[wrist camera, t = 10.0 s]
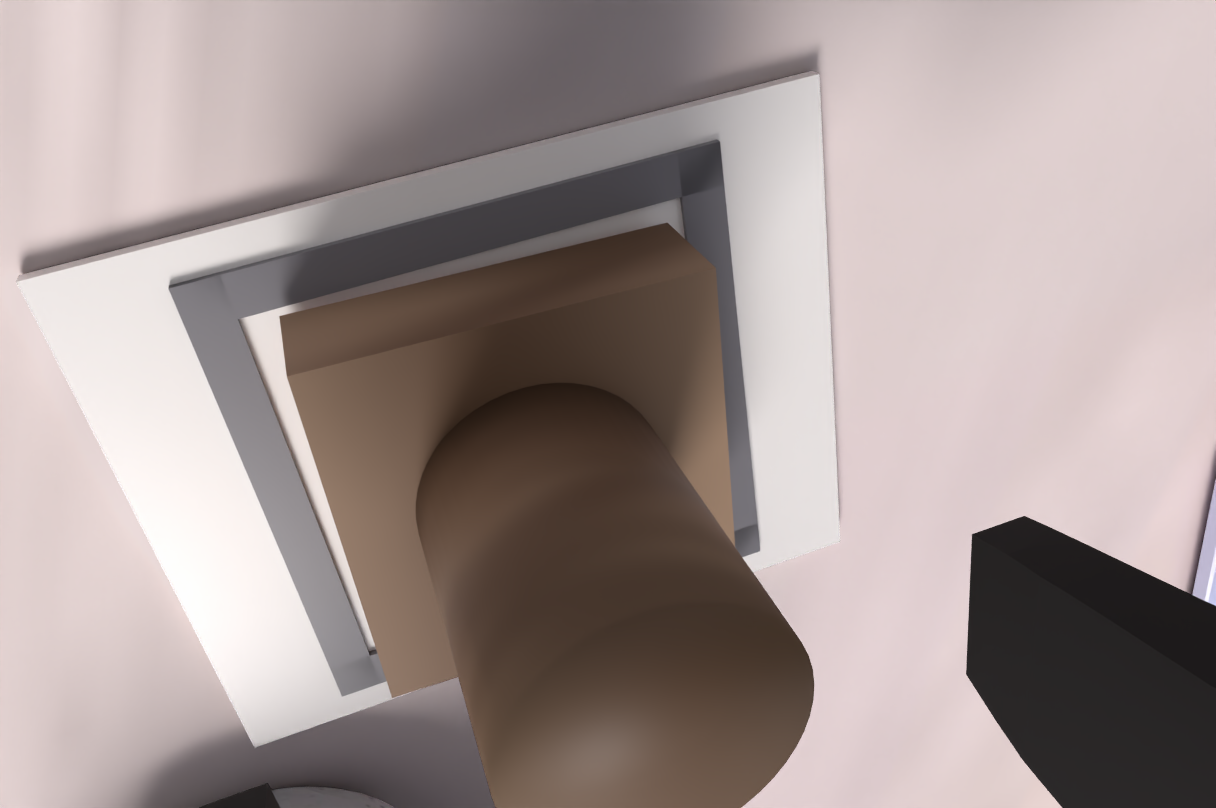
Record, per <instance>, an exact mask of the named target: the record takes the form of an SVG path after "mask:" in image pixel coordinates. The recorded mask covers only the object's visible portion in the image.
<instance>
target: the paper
mask: <svg viewBox="0 0 1216 808" xmlns="http://www.w3.org/2000/svg"><path fill="white" fill-rule="evenodd" d="M663 223H668V224H669V225H671V226H672V227H673V228H674V229H675V230H676V231H677V232H678V233H679V234H680V235H681V236H682V237H683V238H684V239H685V240H687V241H688V242H689V243H690V244H691V245H692V246H693V247H694V248H695V249H696V250H697V251H698V252H699V253H700V254H702V255H703V256H704V257H705V258H706V259H707V260H708V261H709V262H710V263H711V264H712V265H713V266H714V267H715V268H716V277H717V292H718V306H719V321H720V335H721V349H722V364H723V378H724V393H725V407H726V422H727V436H728V451H729V465H730V480H731V494H732V509H733V523H734V538H735V548H736V549H737V550H738V552H739V553H740V555H741V556H742V558H743V559H744V561H745V562H746V563H747V565H748V566H749V568H750V569H751V571H752V572H756V571H758V570H761V569H764V568H767V567H770V566H773V565H776V564H778V563H781V562H784V561H787V560H790V559H793V558H795V557H798V556H801V555H804V554H807V553H810V552H812V551H815V550H818V549H821V548H824V547H827V546H830V545H832V544H835V543H838V542H840V527H839V504H838V482H837V459H836V436H835V414H834V391H833V368H832V346H831V323H830V301H829V278H828V255H827V233H826V210H825V188H824V165H823V142H822V120H821V97H820V74H819V73H817V72H814V71H809V72H805V73H801V74H797V75H793V76H789V77H785V78H781V79H778V80H774V81H770V82H766V83H762V84H758V85H754V86H750V87H747V88H743V89H739V90H735V91H731V92H727V93H723V94H719V95H716V96H712V97H708V98H704V99H700V100H696V101H692V102H688V103H685V104H681V105H677V106H673V107H669V108H665V109H661V110H657V111H654V112H650V113H646V114H642V115H638V116H634V117H630V118H626V119H623V120H619V121H615V122H611V123H607V124H603V125H599V126H595V127H592V128H588V129H584V130H580V131H576V132H572V133H568V134H564V135H561V136H557V137H553V138H549V139H545V140H541V141H537V142H533V143H530V144H526V145H522V146H518V147H514V148H510V149H506V150H502V151H499V152H495V153H491V154H487V155H483V156H479V157H475V158H471V159H468V160H464V161H460V162H456V163H452V164H448V165H444V166H440V167H437V168H433V169H429V170H425V171H421V172H417V173H413V174H409V175H406V176H402V177H398V178H394V179H390V180H386V181H382V182H378V183H375V184H371V185H367V186H363V187H359V188H355V189H351V190H347V191H344V192H340V193H336V194H332V195H328V196H324V197H320V198H316V199H313V200H309V201H305V202H301V203H297V204H293V205H289V206H285V207H282V208H278V209H274V210H270V211H266V212H262V213H258V214H254V215H251V216H247V217H243V218H239V219H235V220H231V221H227V222H223V223H220V224H216V225H212V226H208V227H204V228H200V229H196V230H192V231H189V232H185V233H181V234H177V235H173V236H169V237H165V238H161V239H158V240H154V241H150V242H146V243H142V244H138V245H134V246H130V247H127V248H123V249H119V250H115V251H111V252H107V253H103V254H99V255H96V256H92V257H88V258H84V259H80V260H76V261H72V262H68V263H65V264H61V265H57V266H53V267H49V268H45V269H41V270H37V271H34V272H30V273H26V274H22V275H19V276H18V278H17V281H16V283H17V285H18V287H19V289H20V291H21V293H22V295H23V297H24V299H25V300H26V302H27V304H28V306H29V308H30V310H31V312H32V314H33V316H34V318H35V320H36V322H37V324H38V326H39V328H40V330H41V332H42V334H43V336H44V338H45V340H46V342H47V343H48V345H49V347H50V349H51V351H52V353H53V355H54V357H55V359H56V361H57V363H58V365H59V367H60V369H61V371H62V373H63V375H64V377H65V379H66V381H67V383H68V384H69V386H70V388H71V390H72V392H73V394H74V396H75V398H76V400H77V402H78V404H79V406H80V408H81V410H82V412H83V414H84V416H85V418H86V420H87V422H88V424H89V426H90V427H91V429H92V431H93V433H94V435H95V437H96V439H97V441H98V443H99V445H100V447H101V449H102V451H103V453H104V455H105V457H106V459H107V461H108V463H109V465H110V467H111V469H112V470H113V472H114V474H115V476H116V478H117V480H118V482H119V484H120V486H121V488H122V490H123V492H124V494H125V496H126V498H127V500H128V502H129V504H130V506H131V508H132V510H133V511H134V513H135V515H136V517H137V519H138V521H139V523H140V525H141V527H142V529H143V531H144V533H145V535H146V537H147V539H148V541H149V543H150V545H151V547H152V549H153V551H154V553H155V554H156V556H157V558H158V560H159V562H160V564H161V566H162V568H163V570H164V572H165V574H166V576H167V578H168V580H169V582H170V584H171V586H172V588H173V590H174V592H175V594H176V595H177V597H178V599H179V601H180V603H181V605H182V607H183V609H184V611H185V613H186V615H187V617H188V619H189V621H190V623H191V625H192V627H193V629H194V631H195V633H196V635H197V637H198V638H199V640H200V642H201V644H202V646H203V648H204V650H205V652H206V654H207V656H208V658H209V660H210V662H211V664H212V666H213V668H214V670H215V672H216V674H217V676H218V678H219V680H220V681H221V683H222V685H223V687H224V689H225V691H226V693H227V695H228V697H229V699H230V701H231V703H232V705H233V707H234V709H235V711H236V713H237V715H238V717H239V719H240V721H241V722H242V724H243V726H244V728H245V730H246V732H247V734H248V736H249V738H250V740H251V742H252V744H253V746H254V748H256V747H258V746H261V745H264V744H267V743H270V742H273V741H275V740H278V739H281V738H284V737H287V736H290V735H292V734H295V733H298V732H301V731H304V730H307V729H309V728H312V727H315V726H318V725H321V724H324V723H327V722H329V721H332V720H335V719H338V718H341V717H344V716H346V715H349V714H352V713H355V712H358V711H361V710H363V709H366V708H369V707H372V706H375V705H378V704H381V703H383V702H386V701H389V700H392V699H395V698H398V697H400V696H403V695H406V694H403V695H400V696H397V697H394V698H392V696H391V693H390V690H389V687H388V684H387V681H386V678H385V675H384V672H383V669H382V665H381V662H380V659H379V656H378V653H377V650H376V647H375V644H374V641H373V638H372V635H371V632H370V629H369V626H368V623H367V620H366V617H365V614H364V611H363V608H362V605H361V601H360V598H359V595H358V592H357V589H356V586H355V583H354V580H353V577H352V574H351V571H350V568H349V565H348V562H347V559H346V556H345V553H344V550H343V547H342V544H341V541H340V537H339V534H338V531H337V528H336V525H335V522H334V519H333V516H332V513H331V510H330V507H329V504H328V501H327V498H326V495H325V492H324V489H323V486H322V483H321V480H320V477H319V473H318V470H317V467H316V464H315V461H314V458H313V455H312V452H311V449H310V446H309V443H308V440H307V437H306V434H305V431H304V428H303V425H302V422H301V419H300V416H299V413H298V409H297V406H296V403H295V400H294V397H293V394H292V391H291V388H290V385H289V382H288V379H287V375H286V367H285V359H284V350H283V342H282V334H281V326H280V318H279V316H282V315H286V314H290V313H294V312H298V311H303V310H307V309H311V308H315V307H319V306H323V305H327V304H332V303H336V302H340V301H344V300H348V299H352V298H356V297H361V296H365V295H369V294H373V293H377V292H381V291H385V290H390V289H394V288H398V287H402V286H406V285H410V284H415V283H419V282H423V281H427V280H431V279H435V278H439V277H444V276H448V275H452V274H456V273H460V272H464V271H468V270H473V269H477V268H481V267H485V266H489V265H493V264H497V263H502V262H506V261H510V260H514V259H518V258H522V257H526V256H531V255H535V254H539V253H543V252H547V251H551V250H555V249H560V248H564V247H568V246H572V245H576V244H580V243H584V242H589V241H593V240H597V239H601V238H605V237H609V236H613V235H618V234H622V233H626V232H630V231H634V230H638V229H642V228H647V227H651V226H655V225H659V224H663ZM434 685H435V684H434ZM431 686H432V685H431ZM428 687H429V686H428ZM425 688H426V687H425ZM422 689H423V688H422ZM419 690H420V689H419ZM416 691H417V690H416ZM413 692H415V691H413ZM410 693H412V692H410ZM407 694H409V693H407Z"/></svg>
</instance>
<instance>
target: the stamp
mask: <svg viewBox="0 0 1216 808" xmlns="http://www.w3.org/2000/svg"><path fill="white" fill-rule="evenodd" d="M279 318H280V326H281V334H282V342H283V350H284V359H285V367H286V375H287V379H288V382H289V385H290V388H291V391H292V394H293V397H294V400H295V403H296V406H297V409H298V413H299V416H300V419H301V422H302V425H303V428H304V431H305V434H306V437H307V440H308V443H309V446H310V449H311V452H312V455H313V458H314V461H315V464H316V467H317V470H318V473H319V477H320V480H321V483H322V486H323V489H324V492H325V495H326V498H327V501H328V504H329V507H330V510H331V513H332V516H333V519H334V522H335V525H336V528H337V531H338V534H339V537H340V541H341V544H342V547H343V550H344V553H345V556H346V559H347V562H348V565H349V568H350V571H351V574H352V577H353V580H354V583H355V586H356V589H357V592H358V595H359V598H360V601H361V605H362V608H363V611H364V614H365V617H366V620H367V623H368V626H369V629H370V632H371V635H372V638H373V641H374V644H375V647H376V650H377V653H378V656H379V659H380V662H381V665H382V669H383V672H384V675H385V678H386V681H387V684H388V687H389V690H390V693H391V696H392V698H394V697H397V696H400V695H403V694H407V693H410V692H413V691H416V690H419V689H422V688H425V687H428V686H431V685H434V684H438V683H441V682H444V681H447V680H450V679H453V678H456V677H458V678H459V681H460V685H461V688H462V692H463V696H464V699H465V703H466V707H467V710H468V714H469V717H470V721H471V725H472V728H473V732H474V735H475V739H476V743H477V746H478V750H479V754H480V757H481V761H482V764H483V768H484V772H485V775H486V779H487V783H488V786H489V790H490V793H491V797H492V800H493V802H494V805H495V807H496V808H741V807H742V806H744V805H745V804H746V803H747V802H749V801H750V800H751V799H752V798H753V797H754V796H756V795H757V794H758V793H759V792H760V791H761V790H762V789H763V788H764V787H765V786H766V785H767V784H768V783H769V782H770V781H771V780H772V779H773V778H774V777H775V775H776V774H777V773H778V772H779V770H780V769H781V768H782V767H783V765H784V764H785V763H786V762H787V760H788V759H789V757H790V755H791V754H792V752H793V751H794V749H795V748H796V746H797V744H798V742H799V740H800V738H801V736H802V734H803V732H804V730H805V727H806V725H807V722H808V719H809V716H810V712H811V708H812V703H813V696H814V678H813V669H812V666H811V662H810V659H809V656H808V654H807V652H806V650H805V648H804V646H803V644H802V642H801V641H800V640H799V638H798V637H797V635H796V634H795V632H794V631H793V629H792V628H791V627H790V625H789V624H788V622H787V621H786V619H785V618H784V617H783V615H782V614H781V612H780V611H779V609H778V608H777V606H776V605H775V604H774V602H773V601H772V599H771V598H770V596H769V595H768V594H767V592H766V591H765V589H764V588H763V586H762V585H761V584H760V582H759V581H758V579H757V578H756V576H755V575H754V573H753V572H752V571H751V569H750V568H749V566H748V565H747V563H746V562H745V561H744V559H743V558H742V556H741V555H740V553H739V552H738V550H737V549H736V548H735V538H734V523H733V509H732V494H731V480H730V465H729V451H728V436H727V422H726V407H725V393H724V378H723V364H722V349H721V335H720V321H719V306H718V292H717V277H716V268H715V267H714V266H713V265H712V264H711V263H710V262H709V261H708V260H707V259H706V258H705V257H704V256H703V255H702V254H700V253H699V252H698V251H697V250H696V249H695V248H694V247H693V246H692V245H691V244H690V243H689V242H688V241H687V240H685V239H684V238H683V237H682V236H681V235H680V234H679V233H678V232H677V231H676V230H675V229H674V228H673V227H672V226H671V225H669V224H668V223H663V224H659V225H655V226H651V227H647V228H642V229H638V230H634V231H630V232H626V233H622V234H618V235H613V236H609V237H605V238H601V239H597V240H593V241H589V242H584V243H580V244H576V245H572V246H568V247H564V248H560V249H555V250H551V251H547V252H543V253H539V254H535V255H531V256H526V257H522V258H518V259H514V260H510V261H506V262H502V263H497V264H493V265H489V266H485V267H481V268H477V269H473V270H468V271H464V272H460V273H456V274H452V275H448V276H444V277H439V278H435V279H431V280H427V281H423V282H419V283H415V284H410V285H406V286H402V287H398V288H394V289H390V290H385V291H381V292H377V293H373V294H369V295H365V296H361V297H356V298H352V299H348V300H344V301H340V302H336V303H332V304H327V305H323V306H319V307H315V308H311V309H307V310H303V311H298V312H294V313H290V314H286V315H282V316H279Z"/></svg>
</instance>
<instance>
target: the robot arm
mask: <svg viewBox="0 0 1216 808" xmlns="http://www.w3.org/2000/svg"><path fill="white" fill-rule="evenodd" d="M966 675H967V676H968V678H969V679H970V681H971V682H972V684H973V686H974V687H975V689H976V690H977V692H978V693H979V695H980V696H981V698H982V700H983V701H984V703H985V704H986V706H987V707H988V709H989V711H990V712H991V714H992V715H993V717H994V718H995V720H996V721H997V723H998V724H999V726H1000V727H1001V729H1002V730H1003V732H1004V733H1005V735H1006V736H1007V738H1008V739H1009V740H1010V742H1011V743H1012V745H1013V746H1014V748H1015V749H1016V751H1017V752H1018V754H1019V755H1020V757H1021V758H1022V760H1023V761H1024V762H1025V763H1026V764H1027V766H1028V767H1029V768H1030V769H1031V771H1032V772H1033V773H1034V774H1035V775H1036V777H1037V778H1038V779H1039V780H1040V781H1041V783H1042V784H1043V785H1044V786H1045V787H1046V789H1047V790H1048V791H1049V792H1050V793H1051V795H1052V796H1053V797H1054V798H1055V799H1056V801H1057V802H1058V803H1059V804H1060V805H1061V806H1062V808H1216V480H1215V485H1214V490H1213V495H1212V499H1211V504H1210V509H1209V514H1208V519H1207V524H1206V529H1205V534H1204V539H1203V544H1202V549H1201V554H1200V559H1199V564H1198V569H1197V574H1196V579H1195V584H1194V589H1193V594H1192V595H1191V594H1189V593H1187V592H1185V591H1183V590H1181V589H1178V588H1176V587H1174V586H1172V585H1170V584H1168V583H1166V582H1164V581H1162V580H1159V579H1157V578H1155V577H1153V576H1151V575H1149V574H1147V573H1145V572H1143V571H1141V570H1138V569H1136V568H1134V567H1132V566H1130V565H1128V564H1126V563H1124V562H1122V561H1120V560H1117V559H1115V558H1113V557H1111V556H1109V555H1107V554H1105V553H1103V552H1101V551H1099V550H1097V549H1095V548H1092V547H1090V546H1088V545H1086V544H1084V543H1082V542H1080V541H1078V540H1076V539H1074V538H1071V537H1069V536H1067V535H1065V534H1063V533H1061V532H1059V531H1056V530H1054V529H1052V528H1050V527H1048V526H1046V525H1043V524H1041V523H1039V522H1037V521H1034V520H1032V519H1030V518H1028V517H1025V516H1023V517H1020V518H1017V519H1014V520H1012V521H1009V522H1006V523H1003V524H1000V525H997V526H995V527H992V528H989V529H986V530H983V531H980V532H978V533H975V534H972V549H971V573H970V597H969V621H968V645H967V670H966ZM199 808H280V806H279V804H278V802H277V800H276V798H275V796H274V794H273V792H272V790H271V788H270V786H269V785H268V783H267V784H264V785H261V786H258V787H255V788H253V789H250V790H247V791H244V792H241V793H238V794H236V795H233V796H230V797H227V798H224V799H221V800H219V801H216V802H213V803H210V804H207V805H204V806H202V807H199Z"/></svg>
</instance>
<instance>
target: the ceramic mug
mask: <svg viewBox="0 0 1216 808" xmlns="http://www.w3.org/2000/svg"><path fill="white" fill-rule="evenodd" d="M272 792H273V794H274V796H275V798H276V800H277V802H278V804H279V806H280V808H394V807H392V806H391V805H389V804H387V803H385V802H383V801H381V800H380V799H377V798H374V797H371V796H368V795H365V794H362V793H360V792H354V791H348V790H342V789H336V788H329V787H290V788H280V789H273V790H272Z"/></svg>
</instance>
